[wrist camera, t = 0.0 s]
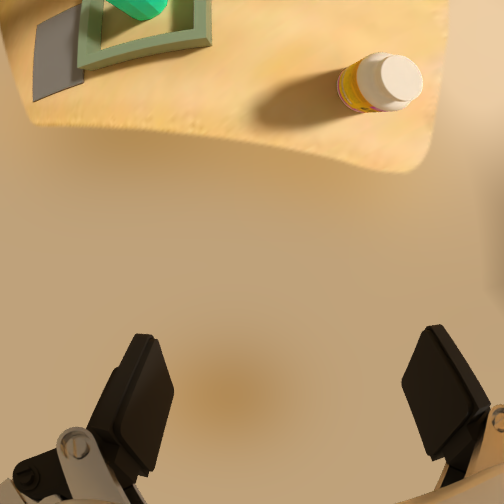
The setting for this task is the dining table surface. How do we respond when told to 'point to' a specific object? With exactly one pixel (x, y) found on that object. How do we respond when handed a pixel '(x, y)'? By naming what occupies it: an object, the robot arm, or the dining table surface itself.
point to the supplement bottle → (380, 83)
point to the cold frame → (179, 40)
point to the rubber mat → (57, 54)
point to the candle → (140, 7)
